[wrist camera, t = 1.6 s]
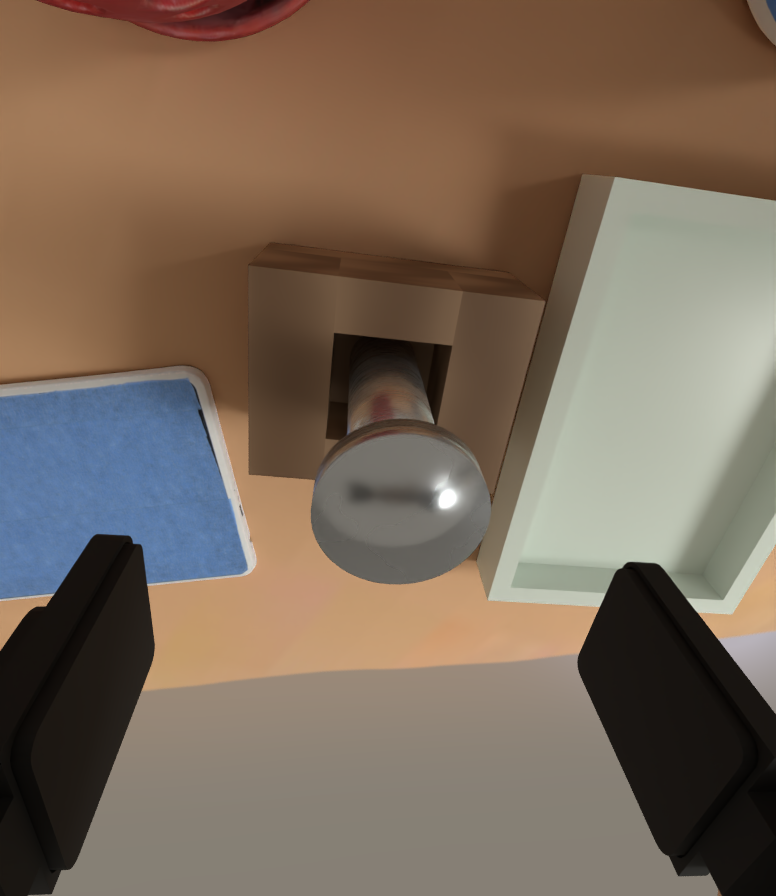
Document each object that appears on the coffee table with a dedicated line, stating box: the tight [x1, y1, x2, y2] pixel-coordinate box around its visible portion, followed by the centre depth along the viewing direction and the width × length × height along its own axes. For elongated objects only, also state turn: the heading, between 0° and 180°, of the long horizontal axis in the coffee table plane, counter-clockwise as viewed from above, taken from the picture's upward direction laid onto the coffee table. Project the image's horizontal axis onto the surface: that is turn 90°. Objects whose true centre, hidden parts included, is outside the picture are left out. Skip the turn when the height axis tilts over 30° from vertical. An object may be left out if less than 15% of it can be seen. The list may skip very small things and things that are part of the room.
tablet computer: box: [0, 365, 257, 601], centre depth 27 cm, size 19×13×1 cm, turn 95°
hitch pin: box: [311, 336, 491, 584], centre depth 18 cm, size 4×4×11 cm
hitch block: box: [248, 243, 546, 494], centre depth 21 cm, size 10×8×5 cm
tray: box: [476, 174, 776, 614], centre depth 25 cm, size 20×14×3 cm
